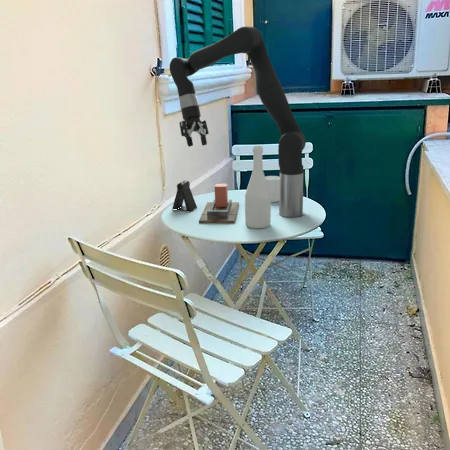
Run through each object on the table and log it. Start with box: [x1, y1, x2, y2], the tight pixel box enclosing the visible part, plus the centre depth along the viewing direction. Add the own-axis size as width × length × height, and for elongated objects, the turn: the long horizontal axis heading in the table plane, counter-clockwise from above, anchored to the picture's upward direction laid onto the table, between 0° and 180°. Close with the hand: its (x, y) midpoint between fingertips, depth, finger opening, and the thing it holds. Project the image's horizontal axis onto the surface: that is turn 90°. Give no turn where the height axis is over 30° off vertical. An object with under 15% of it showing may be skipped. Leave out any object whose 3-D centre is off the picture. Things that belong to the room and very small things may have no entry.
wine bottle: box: [244, 145, 272, 230], centre depth 164 cm, size 10×10×30 cm
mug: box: [265, 175, 280, 203], centre depth 200 cm, size 12×8×10 cm
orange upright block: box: [214, 183, 229, 207], centre depth 189 cm, size 5×5×9 cm
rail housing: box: [198, 199, 240, 224], centre depth 183 cm, size 14×26×4 cm, turn 175°
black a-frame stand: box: [172, 180, 198, 213], centre depth 189 cm, size 9×6×12 cm, turn 67°
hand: (197, 145), depth 185 cm, fingers open, 8 cm apart
